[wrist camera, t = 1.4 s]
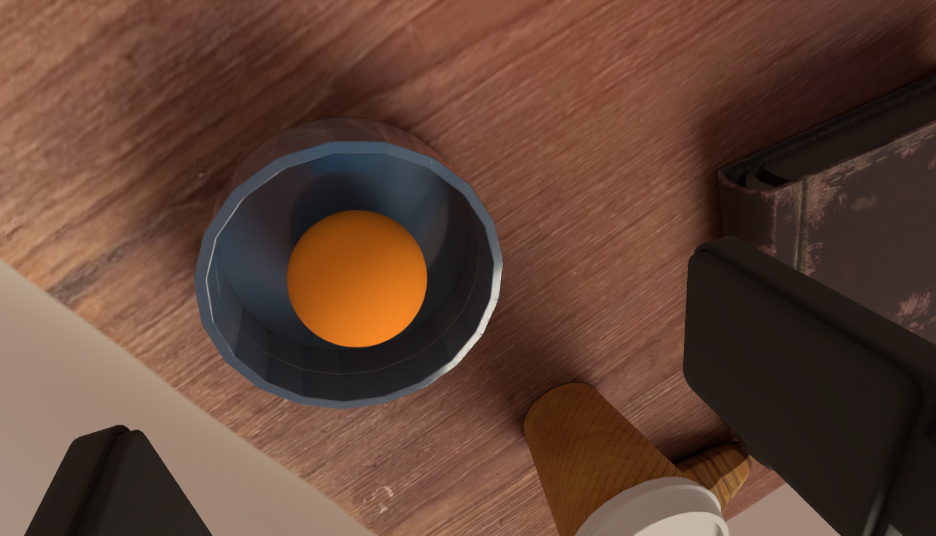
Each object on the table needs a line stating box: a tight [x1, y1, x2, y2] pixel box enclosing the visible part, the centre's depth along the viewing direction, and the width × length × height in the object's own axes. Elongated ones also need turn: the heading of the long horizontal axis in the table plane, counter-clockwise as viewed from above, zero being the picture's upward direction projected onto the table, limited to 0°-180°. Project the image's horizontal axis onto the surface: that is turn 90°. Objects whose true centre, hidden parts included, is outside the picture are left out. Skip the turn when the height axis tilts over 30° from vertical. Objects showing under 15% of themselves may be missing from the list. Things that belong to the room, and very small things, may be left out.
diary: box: [718, 73, 936, 471], centre depth 37 cm, size 19×25×5 cm
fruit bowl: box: [194, 117, 503, 409], centre depth 26 cm, size 13×13×5 cm
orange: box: [287, 210, 427, 347], centre depth 25 cm, size 6×6×6 cm
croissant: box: [674, 441, 755, 515], centre depth 43 cm, size 14×7×5 cm, turn 114°
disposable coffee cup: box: [523, 383, 729, 536], centre depth 33 cm, size 10×10×12 cm
